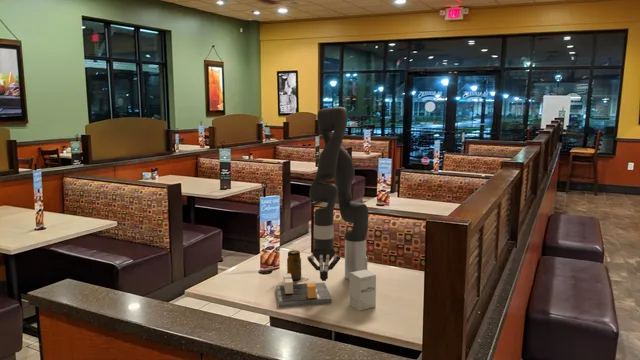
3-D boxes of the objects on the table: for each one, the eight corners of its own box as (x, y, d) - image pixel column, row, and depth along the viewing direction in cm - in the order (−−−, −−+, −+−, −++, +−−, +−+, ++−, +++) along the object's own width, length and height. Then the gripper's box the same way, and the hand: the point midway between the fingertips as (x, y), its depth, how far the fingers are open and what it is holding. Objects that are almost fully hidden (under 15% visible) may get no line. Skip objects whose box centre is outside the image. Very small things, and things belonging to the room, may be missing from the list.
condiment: (296, 274, 216) (295, 248, 214) (307, 279, 209) (307, 252, 208) (282, 278, 211) (282, 251, 210) (294, 283, 205) (293, 256, 203)
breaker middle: (292, 289, 191) (291, 278, 191) (293, 293, 187) (292, 282, 187) (284, 290, 191) (284, 279, 190) (285, 293, 187) (285, 282, 186)
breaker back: (290, 284, 197) (290, 273, 197) (291, 287, 193) (291, 276, 193) (283, 284, 197) (283, 273, 196) (284, 288, 193) (283, 277, 192)
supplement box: (359, 311, 176) (359, 278, 174) (349, 304, 183) (348, 271, 181) (376, 307, 180) (376, 274, 178) (365, 300, 186) (365, 268, 184)
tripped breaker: (314, 293, 187) (314, 282, 186) (315, 297, 183) (315, 286, 182) (306, 294, 186) (306, 283, 186) (308, 298, 182) (307, 286, 182)
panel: (324, 287, 200) (324, 282, 200) (331, 303, 184) (331, 297, 183) (276, 290, 197) (276, 285, 197) (278, 307, 181) (278, 301, 180)
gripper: (339, 232, 187) (339, 276, 189) (305, 234, 185) (305, 277, 187) (342, 237, 179) (342, 282, 182) (307, 239, 177) (307, 284, 180)
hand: (323, 280), depth 184 cm, fingers closed
